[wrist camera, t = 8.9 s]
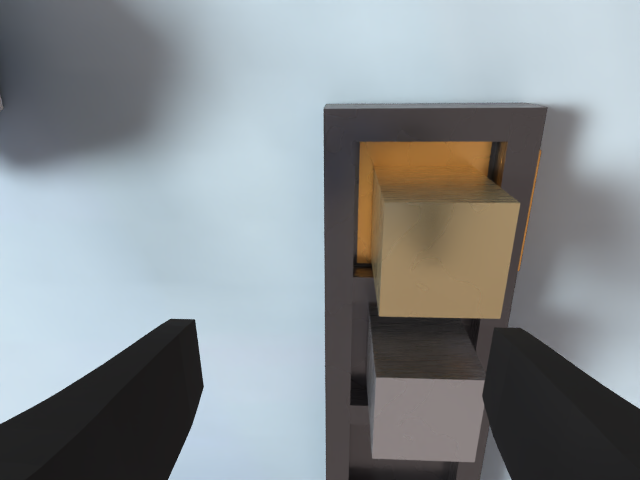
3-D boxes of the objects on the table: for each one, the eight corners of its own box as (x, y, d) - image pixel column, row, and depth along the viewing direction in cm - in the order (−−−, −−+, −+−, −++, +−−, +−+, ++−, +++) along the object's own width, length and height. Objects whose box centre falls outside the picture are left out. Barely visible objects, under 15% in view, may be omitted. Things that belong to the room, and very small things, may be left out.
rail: (464, 490, 25) (473, 524, 24) (327, 485, 26) (326, 517, 24) (528, 102, 17) (550, 107, 15) (325, 104, 18) (323, 108, 16)
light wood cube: (461, 256, 19) (500, 318, 14) (370, 255, 19) (378, 316, 14) (473, 166, 17) (520, 203, 13) (374, 166, 18) (384, 202, 13)
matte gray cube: (446, 376, 21) (474, 462, 17) (365, 374, 22) (371, 458, 17) (455, 307, 20) (488, 380, 15) (368, 305, 20) (375, 377, 16)
